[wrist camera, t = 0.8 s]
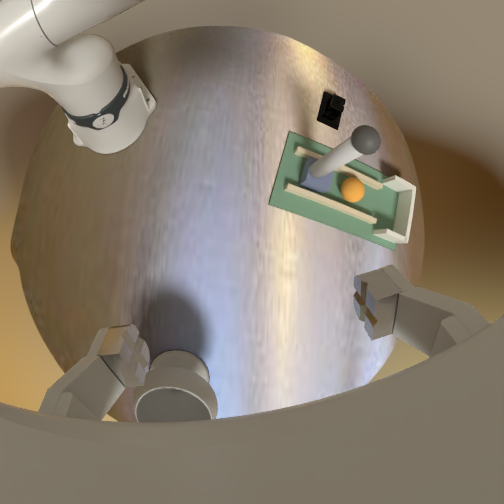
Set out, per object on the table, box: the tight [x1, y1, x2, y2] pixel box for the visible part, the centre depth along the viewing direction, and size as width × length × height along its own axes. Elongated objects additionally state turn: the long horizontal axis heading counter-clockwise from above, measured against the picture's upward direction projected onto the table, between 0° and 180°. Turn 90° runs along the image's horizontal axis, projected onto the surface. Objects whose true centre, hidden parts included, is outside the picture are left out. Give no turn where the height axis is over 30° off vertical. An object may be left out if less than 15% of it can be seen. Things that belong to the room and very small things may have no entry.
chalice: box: [133, 350, 218, 423], centre depth 41 cm, size 14×14×15 cm
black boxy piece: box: [317, 91, 345, 130], centre depth 51 cm, size 12×7×5 cm, turn 162°
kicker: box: [299, 125, 381, 193], centre depth 40 cm, size 6×5×22 cm
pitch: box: [269, 132, 399, 251], centre depth 54 cm, size 31×16×1 cm, turn 74°
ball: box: [341, 178, 365, 202], centre depth 51 cm, size 5×5×5 cm
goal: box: [284, 146, 416, 243], centre depth 51 cm, size 28×13×5 cm, turn 74°
